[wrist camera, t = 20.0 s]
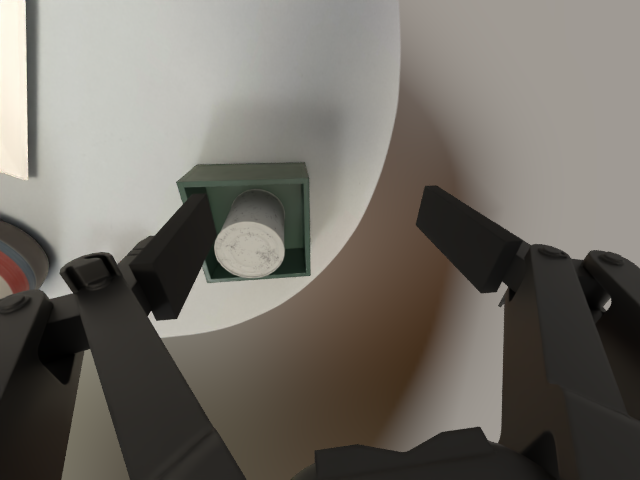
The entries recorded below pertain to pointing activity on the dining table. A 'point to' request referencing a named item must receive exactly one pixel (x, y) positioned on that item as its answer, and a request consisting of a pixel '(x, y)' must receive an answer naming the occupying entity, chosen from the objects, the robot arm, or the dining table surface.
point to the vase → (20, 261)
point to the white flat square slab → (13, 89)
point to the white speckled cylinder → (252, 235)
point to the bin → (237, 178)
